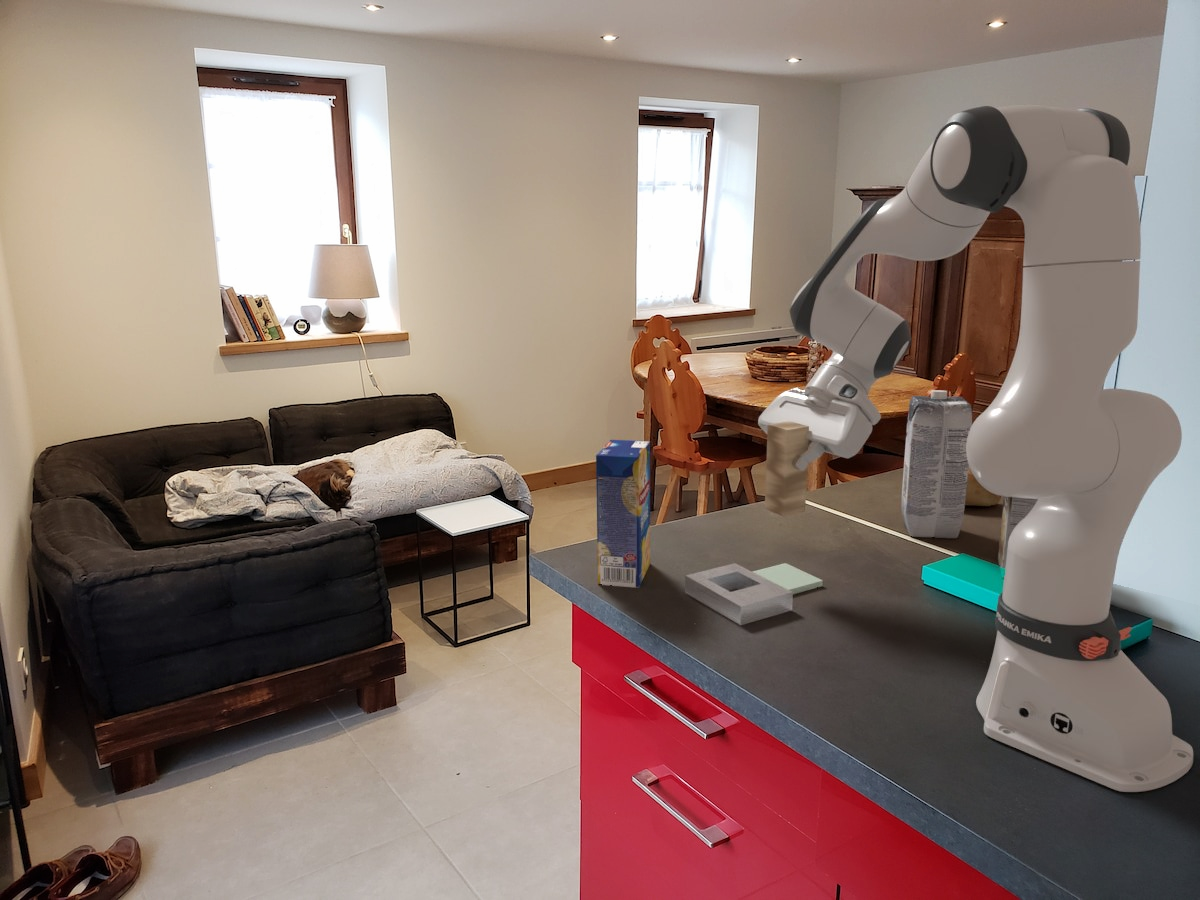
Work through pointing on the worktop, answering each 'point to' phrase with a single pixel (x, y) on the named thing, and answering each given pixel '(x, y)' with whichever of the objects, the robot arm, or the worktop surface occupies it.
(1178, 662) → the worktop surface
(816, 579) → the pad
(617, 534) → the beverage box
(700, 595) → the grey square socket plate
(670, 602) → the worktop surface
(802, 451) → the oak peg
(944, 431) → the juice carton
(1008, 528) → the coffee box
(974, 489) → the bread roll
